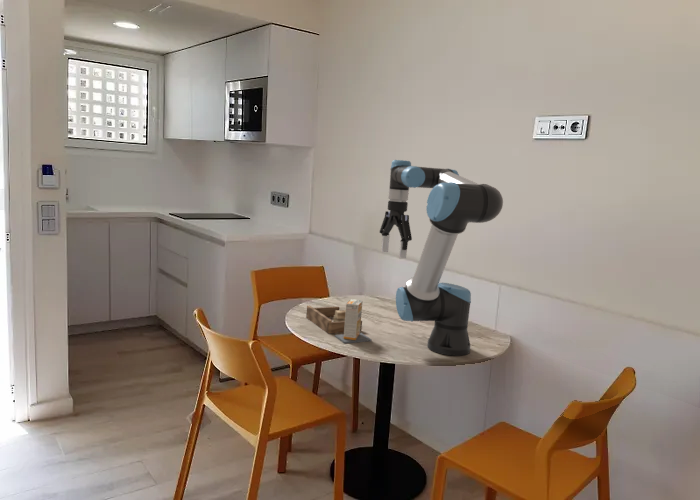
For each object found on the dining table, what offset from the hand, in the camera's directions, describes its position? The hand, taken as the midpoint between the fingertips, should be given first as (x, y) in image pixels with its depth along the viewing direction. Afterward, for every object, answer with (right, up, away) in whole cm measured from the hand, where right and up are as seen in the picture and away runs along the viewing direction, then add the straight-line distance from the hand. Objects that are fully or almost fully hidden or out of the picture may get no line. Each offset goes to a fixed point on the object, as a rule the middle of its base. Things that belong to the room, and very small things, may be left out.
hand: (393, 255), depth 221 cm
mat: (-16, -30, -15) cm, 37 cm away
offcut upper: (-19, -25, +3) cm, 31 cm away
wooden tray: (-24, -27, +1) cm, 36 cm away
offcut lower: (-19, -28, +3) cm, 34 cm away
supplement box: (-16, -30, -15) cm, 37 cm away
